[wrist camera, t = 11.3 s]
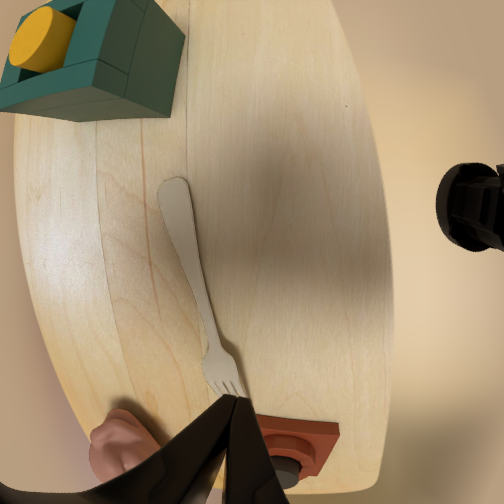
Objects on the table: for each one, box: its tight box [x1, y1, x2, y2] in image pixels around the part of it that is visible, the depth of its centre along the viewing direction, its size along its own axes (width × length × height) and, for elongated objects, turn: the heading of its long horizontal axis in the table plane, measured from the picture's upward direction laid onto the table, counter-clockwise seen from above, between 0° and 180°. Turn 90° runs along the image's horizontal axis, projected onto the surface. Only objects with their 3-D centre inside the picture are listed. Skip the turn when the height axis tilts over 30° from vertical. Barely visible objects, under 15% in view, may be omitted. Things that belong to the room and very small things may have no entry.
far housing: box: [256, 415, 340, 481], centre depth 24 cm, size 10×8×4 cm
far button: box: [270, 455, 299, 489], centre depth 21 cm, size 4×4×2 cm
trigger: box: [9, 6, 77, 74], centre depth 9 cm, size 4×4×3 cm
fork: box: [157, 177, 246, 398], centre depth 22 cm, size 3×21×3 cm, turn 14°
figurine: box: [89, 409, 160, 483], centre depth 22 cm, size 9×11×12 cm
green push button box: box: [0, 0, 185, 122], centre depth 14 cm, size 9×7×10 cm
